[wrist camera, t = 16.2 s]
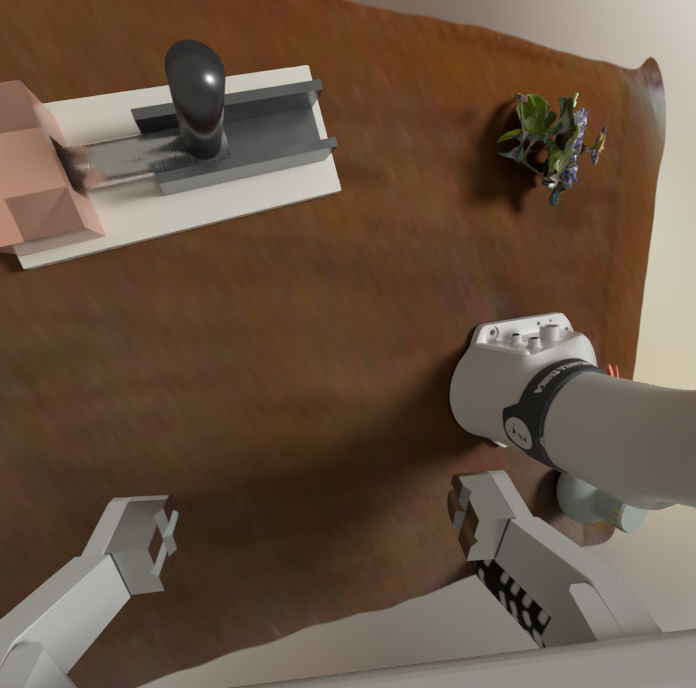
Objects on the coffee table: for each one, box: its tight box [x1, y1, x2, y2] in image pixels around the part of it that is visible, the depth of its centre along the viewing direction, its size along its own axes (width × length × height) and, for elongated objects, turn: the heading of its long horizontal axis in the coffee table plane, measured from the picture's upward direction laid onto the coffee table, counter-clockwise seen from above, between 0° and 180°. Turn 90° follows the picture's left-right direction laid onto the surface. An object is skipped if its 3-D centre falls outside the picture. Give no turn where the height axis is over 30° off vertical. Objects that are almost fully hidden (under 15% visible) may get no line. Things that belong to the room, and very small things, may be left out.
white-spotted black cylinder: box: [475, 559, 551, 648], centre depth 50 cm, size 8×8×20 cm
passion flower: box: [497, 93, 607, 206], centre depth 45 cm, size 11×11×12 cm
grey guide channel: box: [130, 79, 338, 196], centre depth 34 cm, size 16×6×5 cm, turn 106°
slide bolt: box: [55, 40, 231, 192], centre depth 26 cm, size 16×3×14 cm, turn 106°
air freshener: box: [557, 473, 647, 532], centre depth 57 cm, size 11×8×10 cm
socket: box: [0, 80, 106, 255], centre depth 29 cm, size 6×10×6 cm, turn 16°
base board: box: [17, 65, 341, 269], centre depth 35 cm, size 30×12×2 cm, turn 106°
